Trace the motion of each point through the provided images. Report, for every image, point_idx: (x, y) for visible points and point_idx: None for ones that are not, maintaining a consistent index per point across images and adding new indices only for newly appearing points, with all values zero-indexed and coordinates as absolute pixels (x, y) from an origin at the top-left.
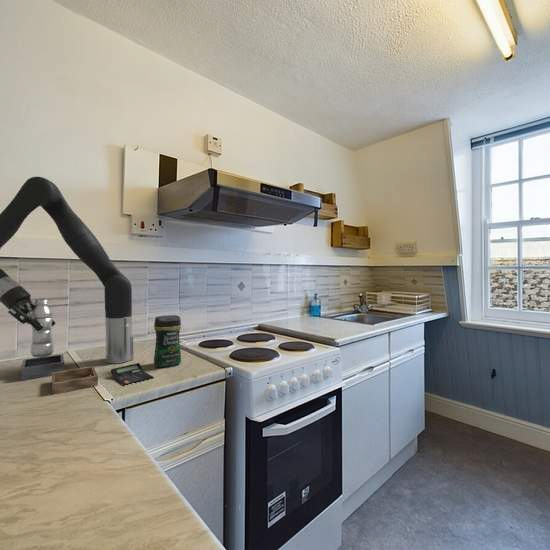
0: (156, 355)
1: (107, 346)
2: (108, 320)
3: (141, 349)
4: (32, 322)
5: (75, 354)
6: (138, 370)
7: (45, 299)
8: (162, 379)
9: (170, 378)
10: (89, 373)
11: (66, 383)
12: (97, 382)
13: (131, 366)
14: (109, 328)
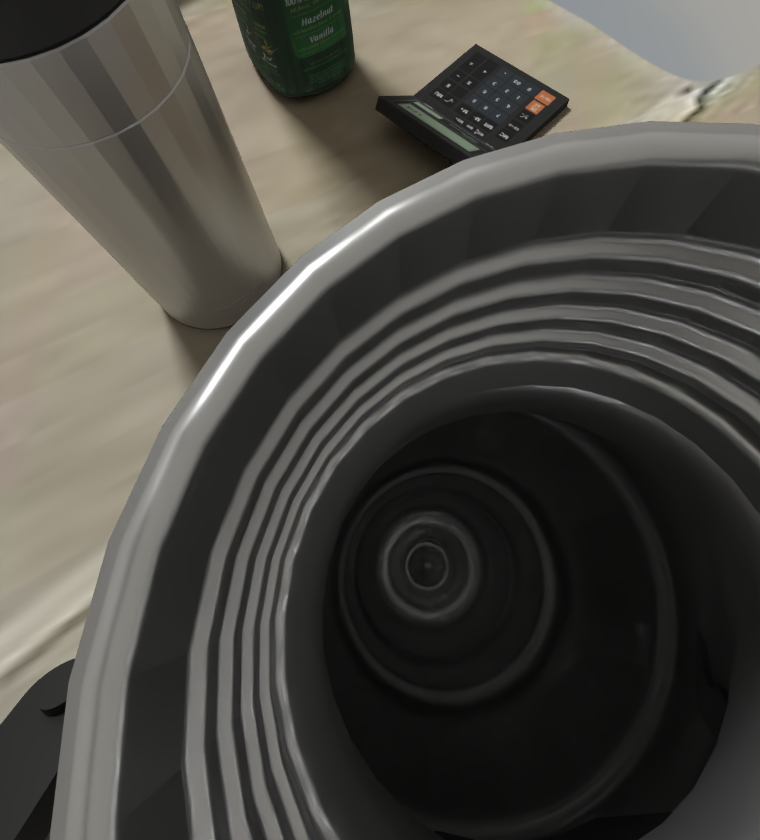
0: (336, 21)
1: (234, 241)
2: (142, 27)
3: (21, 253)
4: None
5: (52, 600)
6: (421, 104)
7: (188, 606)
8: (483, 23)
9: (470, 4)
10: None
11: None
12: None
13: (416, 115)
14: (188, 103)
